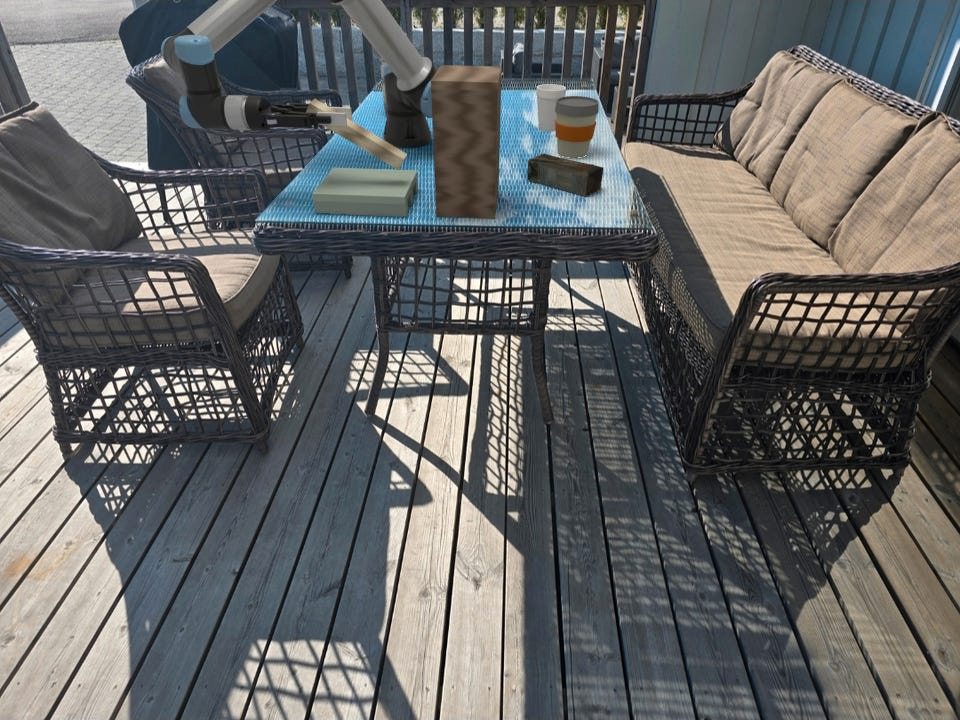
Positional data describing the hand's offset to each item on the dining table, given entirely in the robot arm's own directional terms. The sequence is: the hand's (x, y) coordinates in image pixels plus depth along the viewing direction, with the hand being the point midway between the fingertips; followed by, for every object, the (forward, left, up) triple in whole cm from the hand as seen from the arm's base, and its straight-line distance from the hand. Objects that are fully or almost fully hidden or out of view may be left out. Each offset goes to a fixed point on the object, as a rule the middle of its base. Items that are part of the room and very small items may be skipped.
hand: (348, 116), depth 138 cm
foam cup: (-82, +15, -20) cm, 86 cm away
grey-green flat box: (-1, +2, -20) cm, 20 cm away
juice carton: (-70, -38, -20) cm, 82 cm away
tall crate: (-12, +25, -20) cm, 34 cm away
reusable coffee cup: (-62, +32, -20) cm, 73 cm away
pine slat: (0, +1, -5) cm, 5 cm away
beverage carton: (-37, +40, -21) cm, 58 cm away
